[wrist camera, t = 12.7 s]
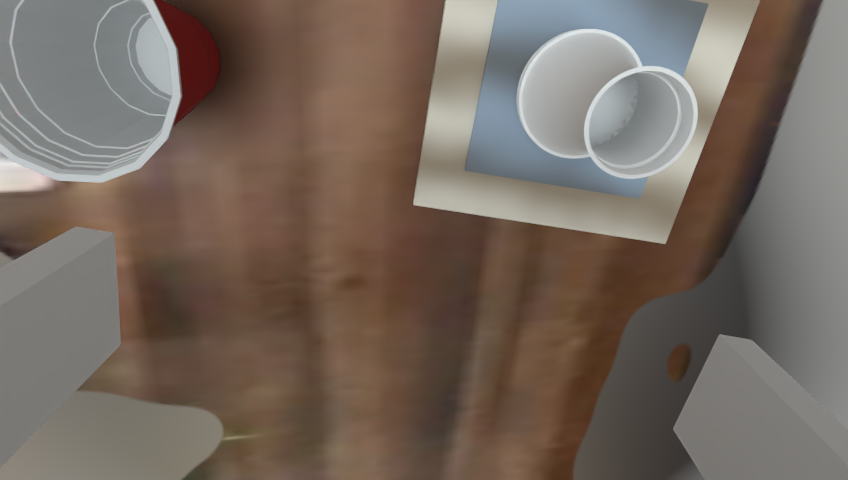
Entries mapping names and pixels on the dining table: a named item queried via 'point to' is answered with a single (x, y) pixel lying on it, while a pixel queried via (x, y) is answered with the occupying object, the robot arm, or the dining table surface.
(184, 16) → the plastic cup
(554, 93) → the white flared tube
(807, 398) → the robot arm
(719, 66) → the plinth
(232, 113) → the dining table surface
